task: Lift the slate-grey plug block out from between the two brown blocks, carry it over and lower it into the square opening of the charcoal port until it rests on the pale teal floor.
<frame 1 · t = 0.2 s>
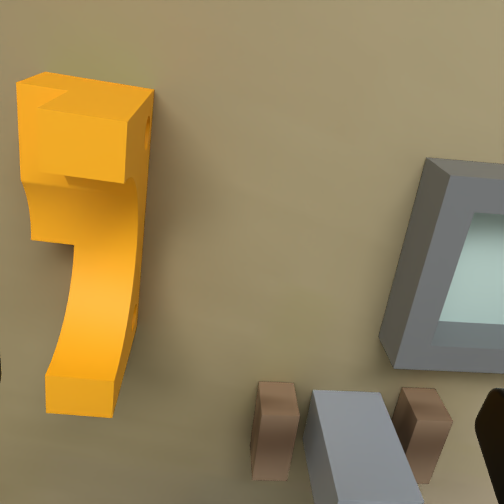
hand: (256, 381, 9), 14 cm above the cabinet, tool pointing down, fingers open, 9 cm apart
plug: (340, 416, 29), on the cabinet
port: (495, 261, 25), on the cabinet
pipe clamp: (98, 212, 23), on the cabinet
brown blocks: (340, 417, 29), on the cabinet
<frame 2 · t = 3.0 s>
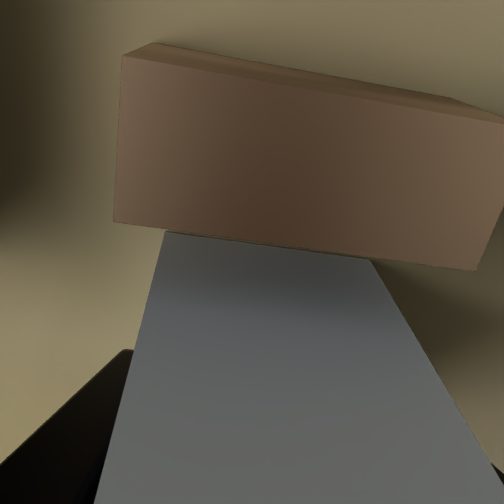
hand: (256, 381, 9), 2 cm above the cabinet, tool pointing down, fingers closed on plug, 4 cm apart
plug: (252, 331, 10), on the cabinet, touching gripper
brown blocks: (251, 331, 10), on the cabinet
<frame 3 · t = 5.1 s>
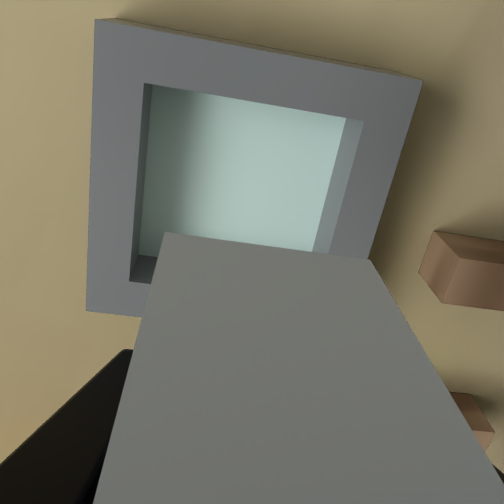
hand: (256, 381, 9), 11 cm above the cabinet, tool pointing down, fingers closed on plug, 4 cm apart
plug: (252, 331, 10), point 10 cm above the cabinet, touching gripper
port: (237, 182, 19), on the cabinet
brown blocks: (446, 337, 23), on the cabinet
when the fingers open (3 cm above the cabinet, at t = 7.2 s): plug drops 1 cm, resting on port.
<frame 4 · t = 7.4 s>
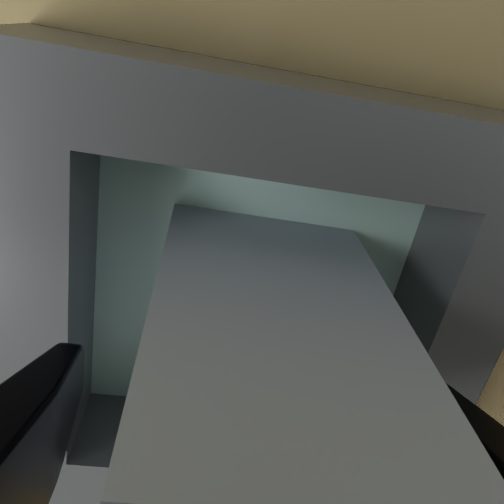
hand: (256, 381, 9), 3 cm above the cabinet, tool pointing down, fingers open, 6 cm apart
plug: (249, 294, 11), resting on port
port: (246, 285, 12), on the cabinet
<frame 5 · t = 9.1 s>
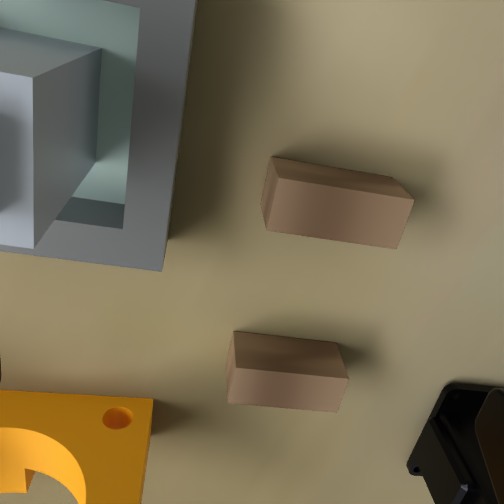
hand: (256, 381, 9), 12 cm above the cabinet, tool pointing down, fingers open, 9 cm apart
plug: (39, 97, 17), resting on port
port: (40, 95, 17), on the cabinet
pipe clamp: (32, 418, 24), on the cabinet
brown blocks: (301, 279, 21), on the cabinet
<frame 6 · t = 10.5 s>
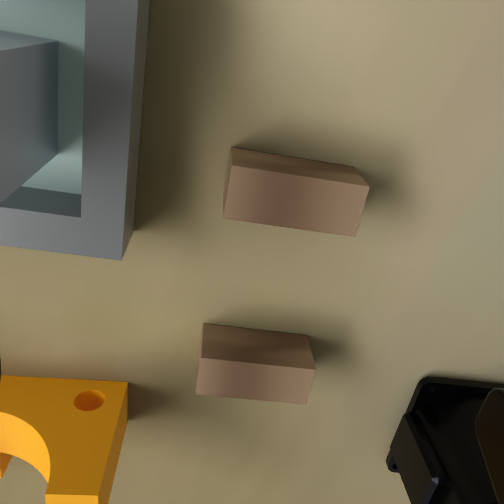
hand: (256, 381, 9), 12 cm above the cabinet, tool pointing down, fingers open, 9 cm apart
port: (2, 88, 17), on the cabinet
pipe clamp: (8, 403, 25), on the cabinet
brown blocks: (268, 270, 21), on the cabinet
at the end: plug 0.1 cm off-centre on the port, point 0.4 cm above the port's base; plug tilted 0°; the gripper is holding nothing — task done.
